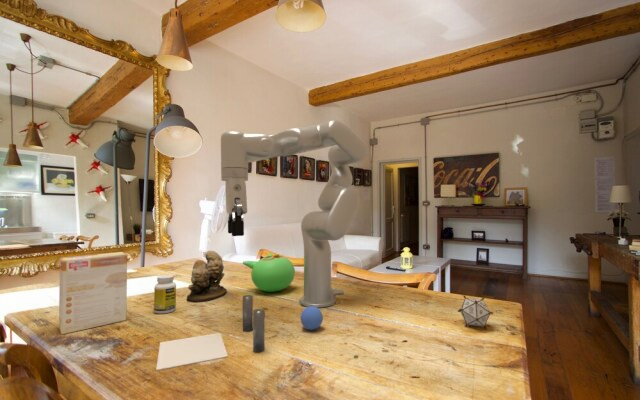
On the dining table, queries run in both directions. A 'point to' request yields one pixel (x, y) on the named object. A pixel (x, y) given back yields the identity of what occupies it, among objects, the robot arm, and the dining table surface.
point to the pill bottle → (165, 294)
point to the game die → (475, 312)
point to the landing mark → (190, 351)
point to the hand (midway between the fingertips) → (235, 234)
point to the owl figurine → (207, 279)
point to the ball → (311, 317)
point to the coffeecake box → (92, 291)
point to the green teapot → (271, 272)
